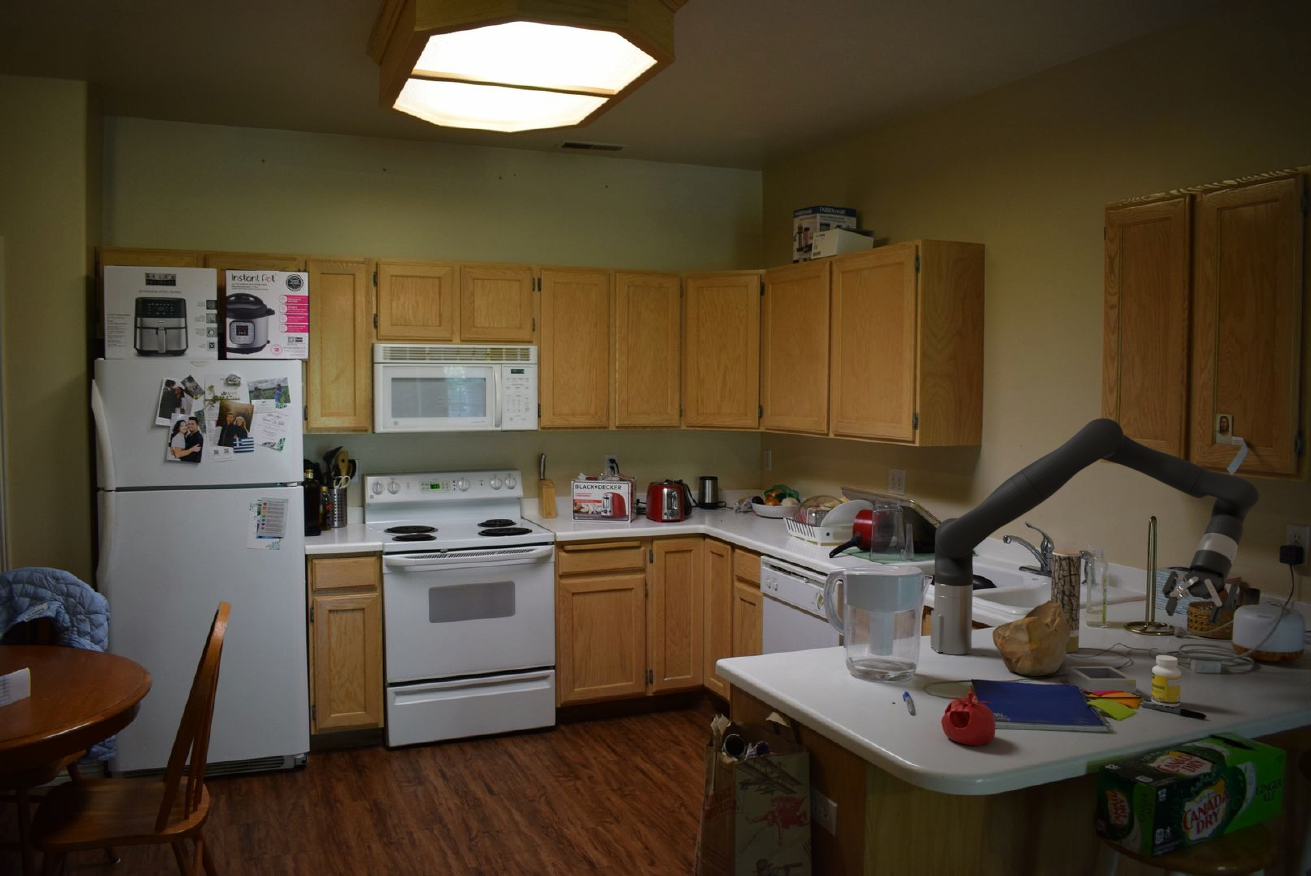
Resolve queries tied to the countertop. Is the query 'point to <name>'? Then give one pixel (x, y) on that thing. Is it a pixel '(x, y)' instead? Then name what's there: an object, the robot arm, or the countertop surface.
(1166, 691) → the supplement bottle
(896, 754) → the countertop surface
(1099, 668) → the shallow grey tray
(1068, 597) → the brown bark log
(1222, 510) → the robot arm
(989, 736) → the pomegranate
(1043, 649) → the rough brown rock
